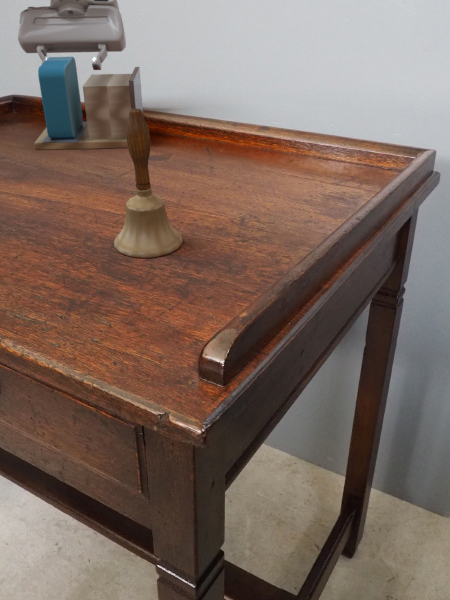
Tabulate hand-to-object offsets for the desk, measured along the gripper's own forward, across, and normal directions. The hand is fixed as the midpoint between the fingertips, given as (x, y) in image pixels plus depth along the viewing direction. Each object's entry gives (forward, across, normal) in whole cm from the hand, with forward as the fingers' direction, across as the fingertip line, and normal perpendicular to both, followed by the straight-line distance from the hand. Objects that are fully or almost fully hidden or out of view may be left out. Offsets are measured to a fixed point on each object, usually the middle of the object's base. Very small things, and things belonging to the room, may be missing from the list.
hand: (71, 68), depth 117 cm
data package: (+14, 0, -2) cm, 14 cm away
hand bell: (+47, +18, -32) cm, 60 cm away
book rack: (+15, +4, -1) cm, 16 cm away
